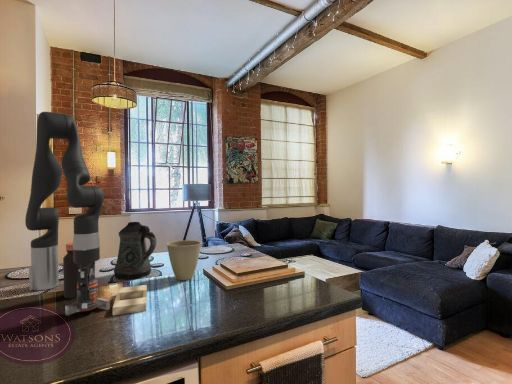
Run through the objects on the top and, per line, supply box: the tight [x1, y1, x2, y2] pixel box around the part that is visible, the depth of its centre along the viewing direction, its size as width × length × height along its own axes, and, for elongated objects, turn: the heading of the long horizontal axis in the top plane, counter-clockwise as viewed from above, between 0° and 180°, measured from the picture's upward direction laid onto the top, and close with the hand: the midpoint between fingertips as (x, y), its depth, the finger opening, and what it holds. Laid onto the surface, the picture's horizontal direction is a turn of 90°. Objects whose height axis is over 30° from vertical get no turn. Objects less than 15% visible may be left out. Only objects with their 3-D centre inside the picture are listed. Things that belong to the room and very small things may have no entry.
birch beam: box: [112, 284, 148, 316], centre depth 104 cm, size 10×20×2 cm, turn 20°
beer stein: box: [113, 221, 157, 281], centre depth 138 cm, size 16×19×25 cm
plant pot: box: [166, 239, 202, 281], centre depth 132 cm, size 15×15×16 cm
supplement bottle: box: [76, 273, 99, 312], centre depth 95 cm, size 6×6×11 cm
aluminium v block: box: [64, 297, 111, 316], centre depth 99 cm, size 13×8×3 cm, turn 110°
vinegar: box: [62, 242, 81, 300], centre depth 111 cm, size 7×7×20 cm
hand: (87, 297), depth 95 cm, fingers closed on supplement bottle, 6 cm apart
